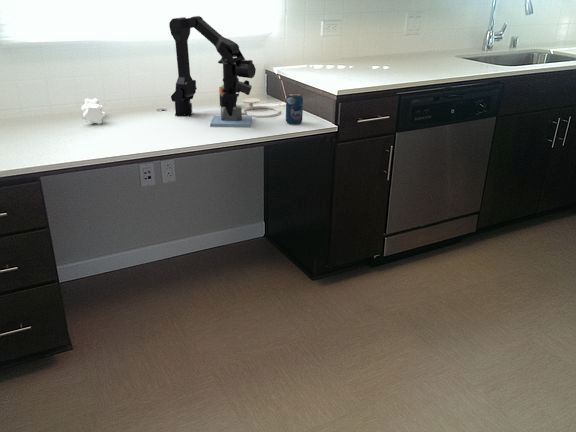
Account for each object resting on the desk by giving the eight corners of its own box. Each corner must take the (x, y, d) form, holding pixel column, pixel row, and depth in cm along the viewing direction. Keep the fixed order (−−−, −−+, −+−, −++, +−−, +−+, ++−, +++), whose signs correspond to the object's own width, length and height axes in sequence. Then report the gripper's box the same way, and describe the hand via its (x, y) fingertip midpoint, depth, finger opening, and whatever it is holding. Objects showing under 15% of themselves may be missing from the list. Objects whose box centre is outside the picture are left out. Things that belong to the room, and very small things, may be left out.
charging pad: (210, 126, 221) (210, 123, 221) (214, 118, 233) (214, 115, 232) (249, 127, 221) (249, 124, 221) (251, 118, 233) (251, 116, 233)
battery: (236, 107, 251) (236, 85, 247) (222, 108, 248) (221, 86, 244) (233, 105, 255) (233, 83, 250) (219, 106, 252) (218, 84, 248)
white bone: (106, 125, 222) (105, 105, 219) (83, 125, 219) (82, 105, 216) (102, 116, 235) (102, 97, 232) (81, 116, 231) (80, 97, 228)
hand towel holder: (257, 110, 230) (230, 101, 245) (257, 120, 232) (230, 110, 247) (288, 104, 240) (260, 95, 254) (288, 114, 242) (260, 105, 256)
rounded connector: (220, 120, 225) (220, 108, 223) (221, 118, 228) (221, 106, 226) (246, 121, 225) (246, 109, 223) (246, 118, 228) (246, 107, 226)
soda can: (292, 126, 224) (293, 97, 219) (282, 122, 229) (282, 93, 224) (305, 123, 228) (306, 94, 223) (295, 120, 233) (295, 91, 228)
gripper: (249, 80, 211) (249, 120, 217) (251, 71, 227) (252, 108, 234) (220, 80, 210) (221, 119, 217) (224, 71, 227) (226, 108, 234)
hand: (231, 113), depth 226 cm, fingers open, 6 cm apart
